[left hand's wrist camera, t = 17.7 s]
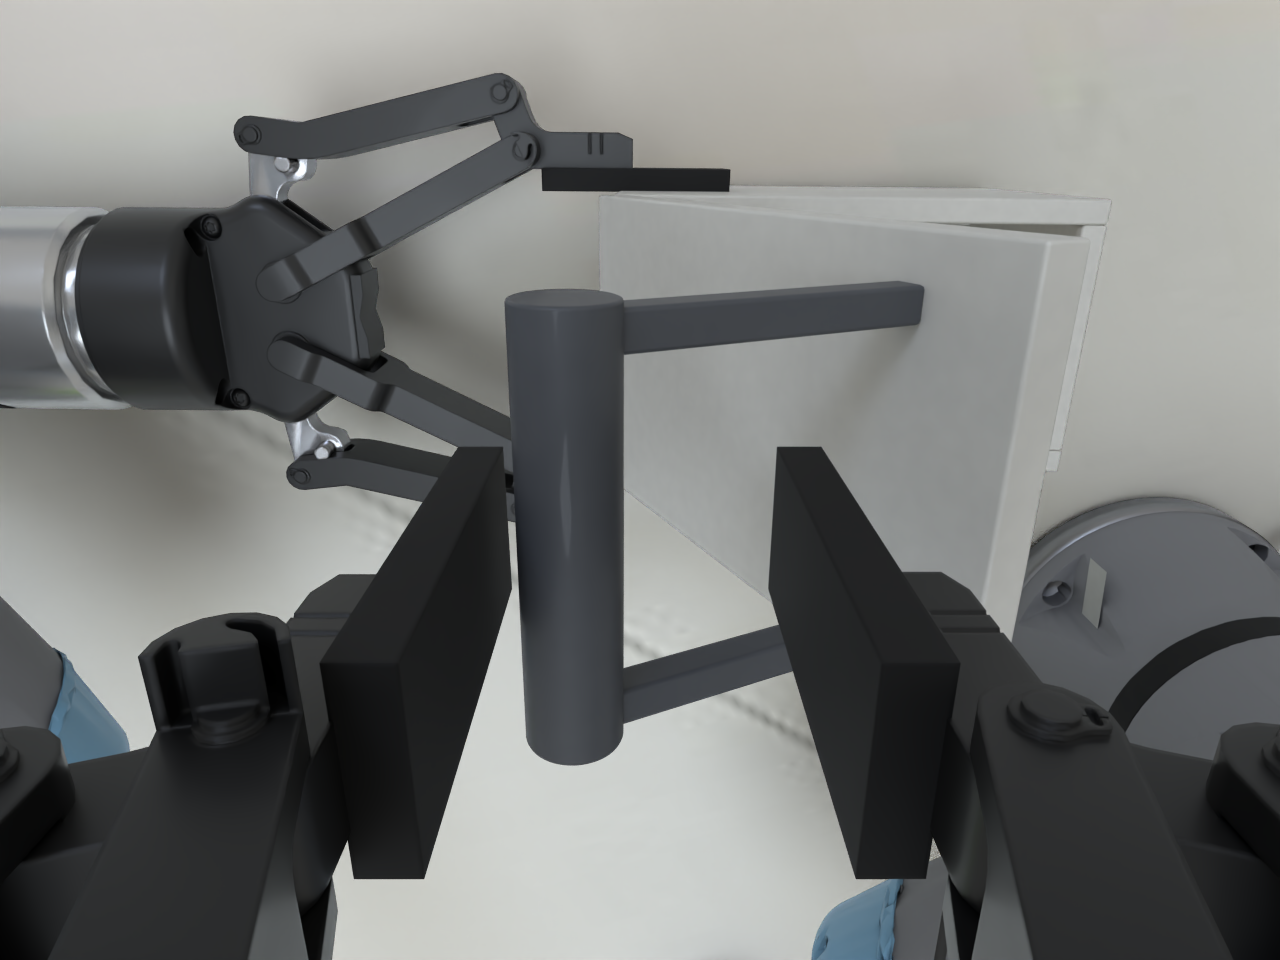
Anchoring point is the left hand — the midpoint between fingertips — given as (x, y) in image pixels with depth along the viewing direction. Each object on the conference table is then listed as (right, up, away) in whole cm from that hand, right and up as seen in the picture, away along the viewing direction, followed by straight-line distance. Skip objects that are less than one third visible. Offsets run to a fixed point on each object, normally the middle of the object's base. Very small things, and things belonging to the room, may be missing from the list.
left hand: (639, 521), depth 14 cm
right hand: (+3, +7, +17) cm, 19 cm away
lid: (+3, +3, +6) cm, 8 cm away
